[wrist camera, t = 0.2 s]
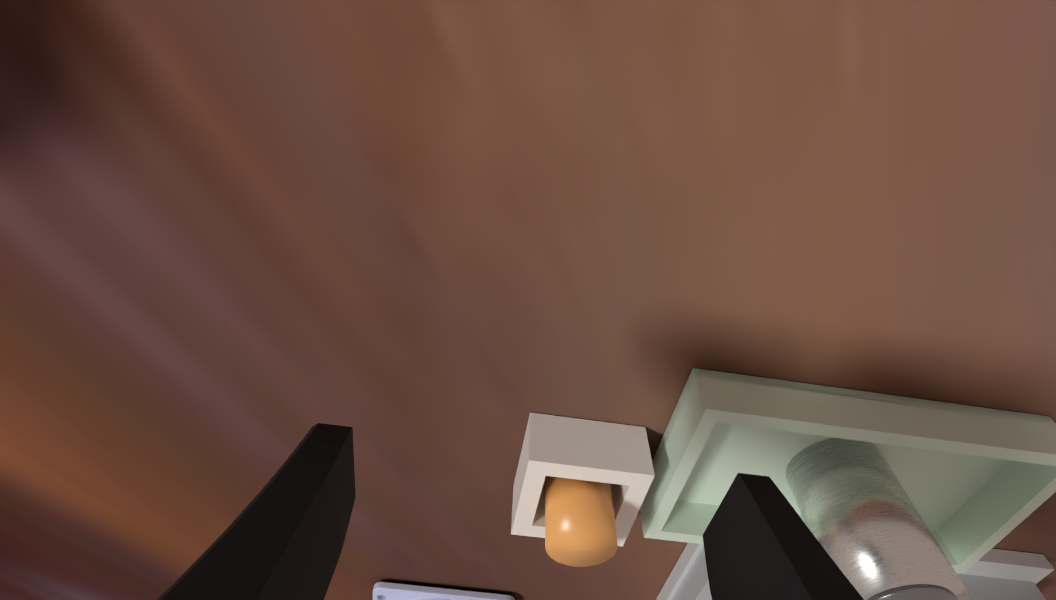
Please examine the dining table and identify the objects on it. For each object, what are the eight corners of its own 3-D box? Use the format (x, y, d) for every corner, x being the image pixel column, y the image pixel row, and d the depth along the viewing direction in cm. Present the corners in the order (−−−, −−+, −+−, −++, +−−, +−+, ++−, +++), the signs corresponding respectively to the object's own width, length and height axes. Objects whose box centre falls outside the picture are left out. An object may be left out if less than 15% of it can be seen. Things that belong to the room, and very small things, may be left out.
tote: (936, 530, 28) (963, 573, 26) (637, 495, 27) (643, 537, 25) (1049, 416, 23) (1092, 459, 21) (692, 367, 22) (706, 408, 20)
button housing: (616, 497, 27) (622, 546, 25) (513, 485, 26) (511, 534, 24) (645, 427, 24) (654, 475, 22) (530, 412, 24) (528, 460, 22)
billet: (854, 500, 26) (930, 646, 21) (770, 490, 25) (827, 635, 20) (900, 442, 23) (999, 590, 18) (809, 431, 23) (884, 577, 18)
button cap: (601, 505, 25) (607, 570, 23) (540, 497, 25) (539, 562, 22) (617, 465, 23) (625, 530, 21) (551, 457, 23) (552, 521, 21)
